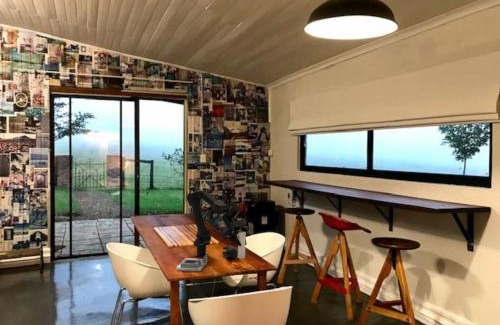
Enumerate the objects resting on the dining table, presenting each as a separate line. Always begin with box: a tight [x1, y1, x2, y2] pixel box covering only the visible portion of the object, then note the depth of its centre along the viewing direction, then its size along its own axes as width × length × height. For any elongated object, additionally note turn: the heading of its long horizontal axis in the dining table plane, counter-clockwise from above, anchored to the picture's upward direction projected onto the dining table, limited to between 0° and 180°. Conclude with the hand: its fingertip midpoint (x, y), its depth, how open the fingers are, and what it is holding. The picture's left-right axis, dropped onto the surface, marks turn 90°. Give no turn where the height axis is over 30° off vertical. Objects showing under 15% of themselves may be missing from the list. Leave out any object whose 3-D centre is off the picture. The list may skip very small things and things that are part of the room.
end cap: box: [222, 244, 238, 261], centre depth 245 cm, size 10×7×7 cm
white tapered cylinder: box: [237, 232, 247, 259], centre depth 227 cm, size 4×4×14 cm
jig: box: [175, 253, 209, 272], centre depth 226 cm, size 19×13×4 cm
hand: (243, 245), depth 226 cm, fingers closed on white tapered cylinder, 4 cm apart
